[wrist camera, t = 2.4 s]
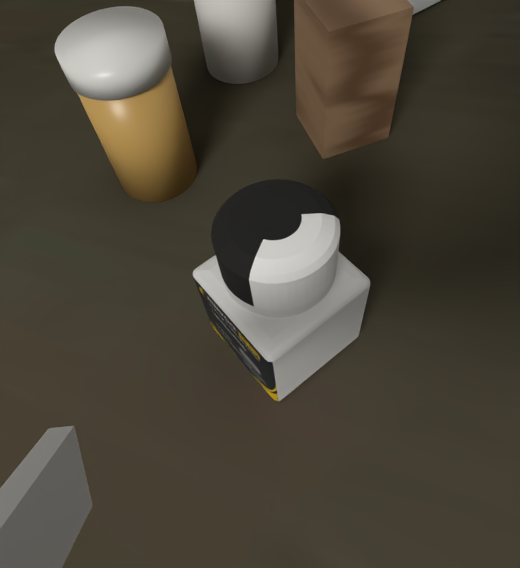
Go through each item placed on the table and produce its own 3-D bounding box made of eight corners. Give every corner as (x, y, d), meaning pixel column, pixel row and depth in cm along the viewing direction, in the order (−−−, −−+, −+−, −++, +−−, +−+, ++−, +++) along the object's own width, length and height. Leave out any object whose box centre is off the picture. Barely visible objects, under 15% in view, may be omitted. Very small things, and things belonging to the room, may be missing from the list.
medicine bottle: (210, 326, 32) (167, 214, 22) (290, 267, 34) (284, 139, 24) (277, 405, 29) (262, 317, 19) (360, 336, 31) (388, 222, 21)
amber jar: (199, 139, 42) (165, 0, 32) (200, 198, 38) (162, 64, 28) (121, 148, 42) (62, 13, 32) (115, 208, 39) (46, 78, 28)
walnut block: (357, 96, 43) (372, -35, 34) (388, 138, 40) (413, 7, 31) (296, 115, 43) (293, -14, 33) (323, 159, 40) (328, 31, 30)
